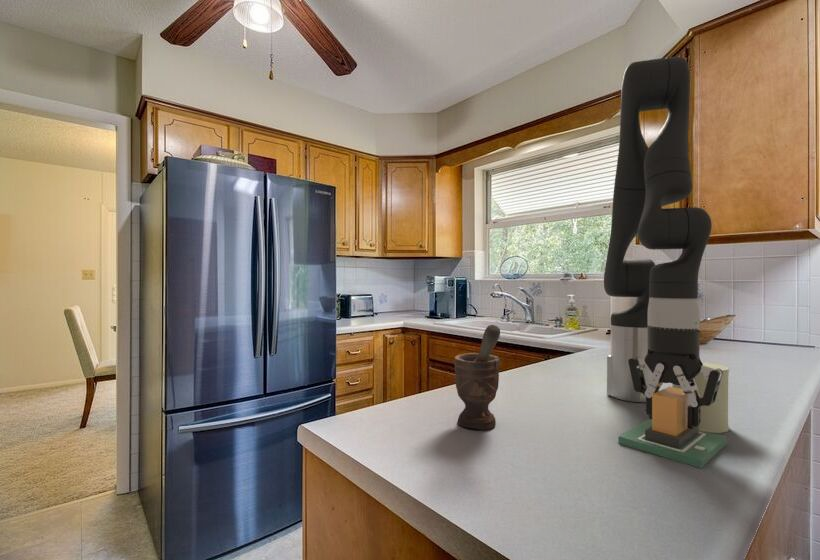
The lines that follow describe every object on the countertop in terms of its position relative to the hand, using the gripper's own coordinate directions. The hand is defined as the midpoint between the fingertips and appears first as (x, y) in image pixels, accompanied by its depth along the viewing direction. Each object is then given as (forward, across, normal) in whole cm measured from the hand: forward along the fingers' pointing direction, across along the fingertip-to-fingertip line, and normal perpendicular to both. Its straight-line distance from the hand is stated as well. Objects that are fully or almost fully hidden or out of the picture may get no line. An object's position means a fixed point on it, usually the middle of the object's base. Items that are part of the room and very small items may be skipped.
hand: (672, 422), depth 70 cm
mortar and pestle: (+4, -26, -19) cm, 32 cm away
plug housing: (+1, 0, 0) cm, 1 cm away
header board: (+4, 0, 0) cm, 4 cm away
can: (+4, 0, +15) cm, 16 cm away
